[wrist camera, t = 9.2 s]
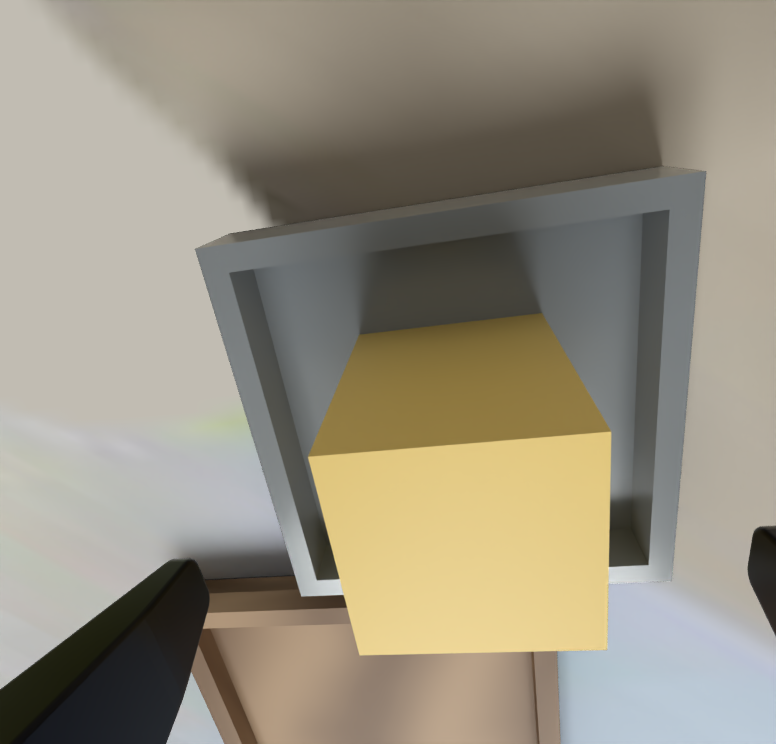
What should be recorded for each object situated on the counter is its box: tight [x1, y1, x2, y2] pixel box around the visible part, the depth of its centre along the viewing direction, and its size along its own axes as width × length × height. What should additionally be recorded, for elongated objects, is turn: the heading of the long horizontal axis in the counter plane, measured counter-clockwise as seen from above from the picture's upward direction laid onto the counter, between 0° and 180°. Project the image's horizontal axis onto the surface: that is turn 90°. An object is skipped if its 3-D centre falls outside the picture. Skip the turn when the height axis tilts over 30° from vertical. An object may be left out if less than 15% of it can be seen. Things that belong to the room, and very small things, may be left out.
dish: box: [195, 166, 706, 597], centre depth 13 cm, size 10×10×2 cm
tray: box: [191, 576, 560, 744], centre depth 19 cm, size 12×12×1 cm
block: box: [308, 313, 611, 655], centre depth 11 cm, size 4×4×6 cm
